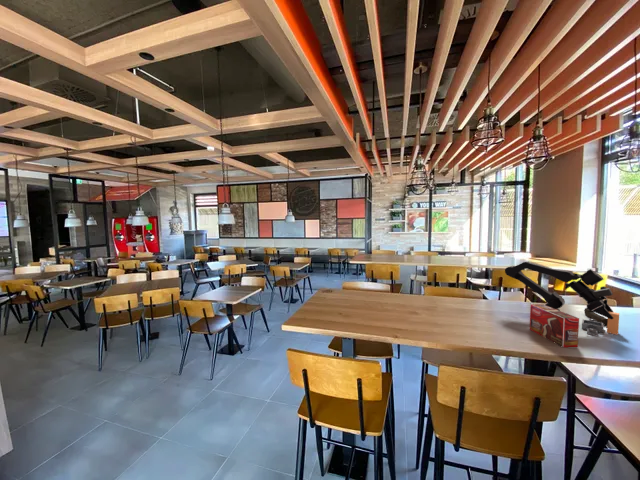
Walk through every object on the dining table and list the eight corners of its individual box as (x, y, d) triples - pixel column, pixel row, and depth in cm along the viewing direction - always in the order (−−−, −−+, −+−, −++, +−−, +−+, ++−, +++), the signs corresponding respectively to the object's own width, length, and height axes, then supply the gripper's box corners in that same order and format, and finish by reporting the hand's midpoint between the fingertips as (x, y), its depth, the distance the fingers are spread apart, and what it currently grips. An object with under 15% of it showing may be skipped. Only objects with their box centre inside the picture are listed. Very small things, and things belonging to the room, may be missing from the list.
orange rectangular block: (617, 334, 130) (618, 314, 129) (606, 332, 133) (608, 312, 132) (618, 332, 132) (619, 313, 131) (607, 330, 135) (608, 311, 134)
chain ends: (603, 337, 127) (603, 331, 127) (581, 332, 133) (581, 326, 133) (602, 324, 142) (602, 319, 142) (582, 321, 148) (583, 316, 147)
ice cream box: (529, 329, 137) (530, 304, 137) (542, 329, 137) (543, 304, 136) (562, 347, 117) (563, 318, 117) (577, 347, 117) (579, 318, 116)
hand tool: (611, 326, 140) (612, 318, 140) (601, 325, 142) (602, 317, 142) (590, 315, 158) (591, 307, 158) (582, 314, 159) (582, 306, 159)
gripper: (597, 284, 129) (630, 312, 121) (601, 279, 141) (632, 304, 133) (574, 297, 136) (604, 324, 128) (580, 291, 148) (608, 315, 140)
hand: (613, 316), depth 132 cm, fingers open, 9 cm apart
